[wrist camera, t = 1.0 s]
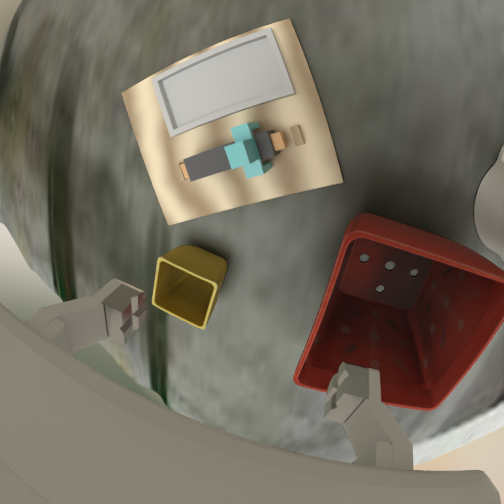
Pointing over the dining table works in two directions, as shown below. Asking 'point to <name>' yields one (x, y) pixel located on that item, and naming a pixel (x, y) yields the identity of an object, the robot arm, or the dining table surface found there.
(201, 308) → the flower pot
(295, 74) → the board
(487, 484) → the robot arm
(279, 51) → the tray
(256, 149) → the teal stepped block
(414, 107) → the dining table surface
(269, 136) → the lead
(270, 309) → the dining table surface
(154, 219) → the dining table surface
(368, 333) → the plant pot
